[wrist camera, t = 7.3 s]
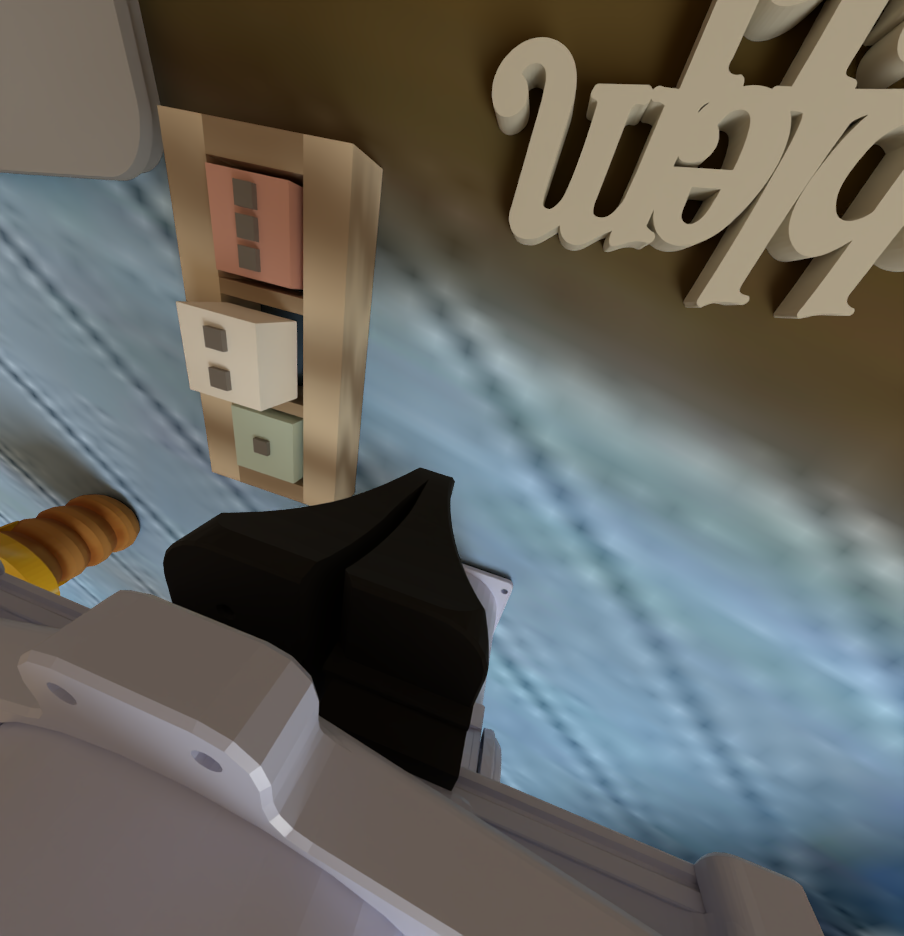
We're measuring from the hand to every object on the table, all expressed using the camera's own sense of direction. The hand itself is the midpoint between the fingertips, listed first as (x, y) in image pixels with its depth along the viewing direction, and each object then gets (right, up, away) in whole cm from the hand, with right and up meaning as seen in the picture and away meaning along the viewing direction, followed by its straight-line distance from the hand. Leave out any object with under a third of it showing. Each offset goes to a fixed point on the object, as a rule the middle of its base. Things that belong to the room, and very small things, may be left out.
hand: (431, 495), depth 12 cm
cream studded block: (-10, +8, +8) cm, 15 cm away
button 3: (-8, +14, +7) cm, 18 cm away
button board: (-10, +9, +10) cm, 17 cm away
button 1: (-11, +4, +13) cm, 17 cm away
